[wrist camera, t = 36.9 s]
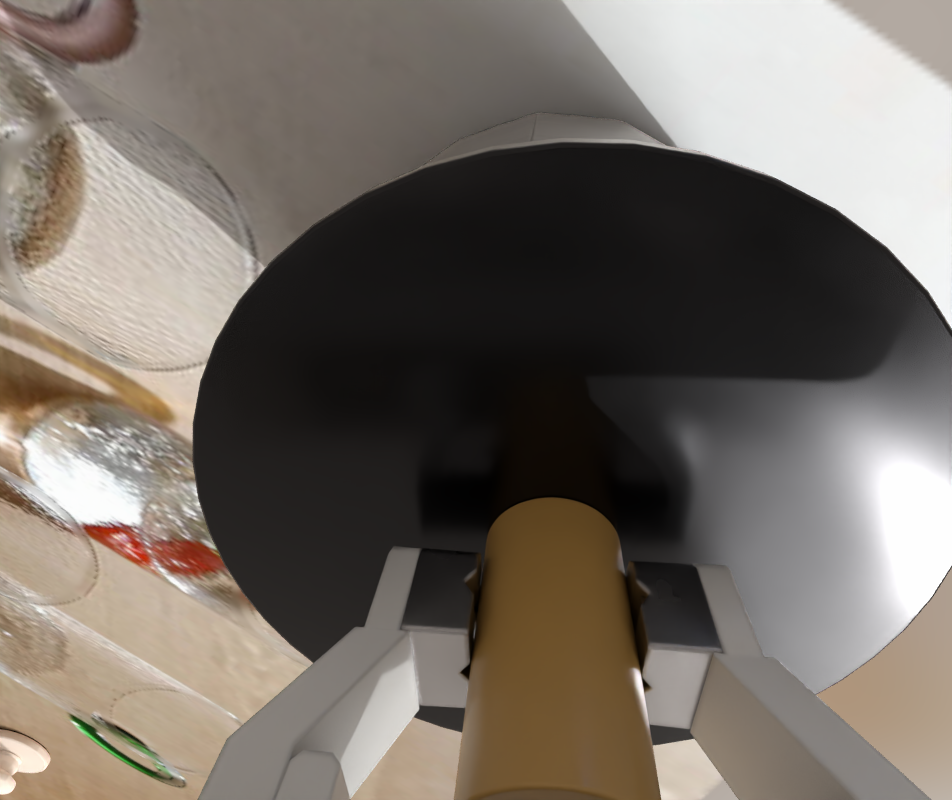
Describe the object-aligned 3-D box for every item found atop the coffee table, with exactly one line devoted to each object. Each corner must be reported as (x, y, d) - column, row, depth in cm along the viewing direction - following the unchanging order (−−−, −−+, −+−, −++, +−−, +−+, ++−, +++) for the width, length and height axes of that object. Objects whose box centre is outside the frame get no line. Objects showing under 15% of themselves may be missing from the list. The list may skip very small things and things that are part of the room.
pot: (818, 239, 18) (1130, 425, 8) (598, 496, 24) (633, 770, 15) (471, 28, 16) (363, -42, 6) (330, 366, 22) (171, 583, 13)
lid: (1138, 402, 9) (1894, 818, 4) (635, 759, 15) (677, 1079, 10) (361, -80, 7) (-123, -491, 2) (168, 569, 13) (-49, 854, 8)
